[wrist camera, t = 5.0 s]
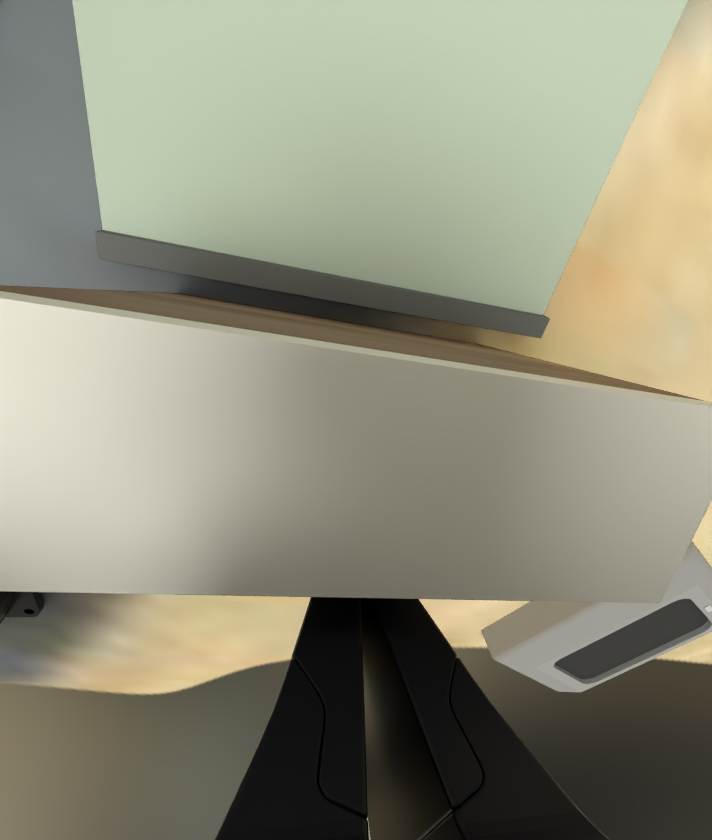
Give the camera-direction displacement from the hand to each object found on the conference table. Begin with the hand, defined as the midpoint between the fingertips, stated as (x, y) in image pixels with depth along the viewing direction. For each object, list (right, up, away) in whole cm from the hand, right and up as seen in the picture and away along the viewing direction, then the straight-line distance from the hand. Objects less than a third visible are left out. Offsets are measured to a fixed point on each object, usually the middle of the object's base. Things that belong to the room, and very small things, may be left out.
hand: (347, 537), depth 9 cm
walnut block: (-1, +5, +6) cm, 8 cm away
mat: (+1, +12, +2) cm, 12 cm away
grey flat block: (+18, -11, +20) cm, 29 cm away
